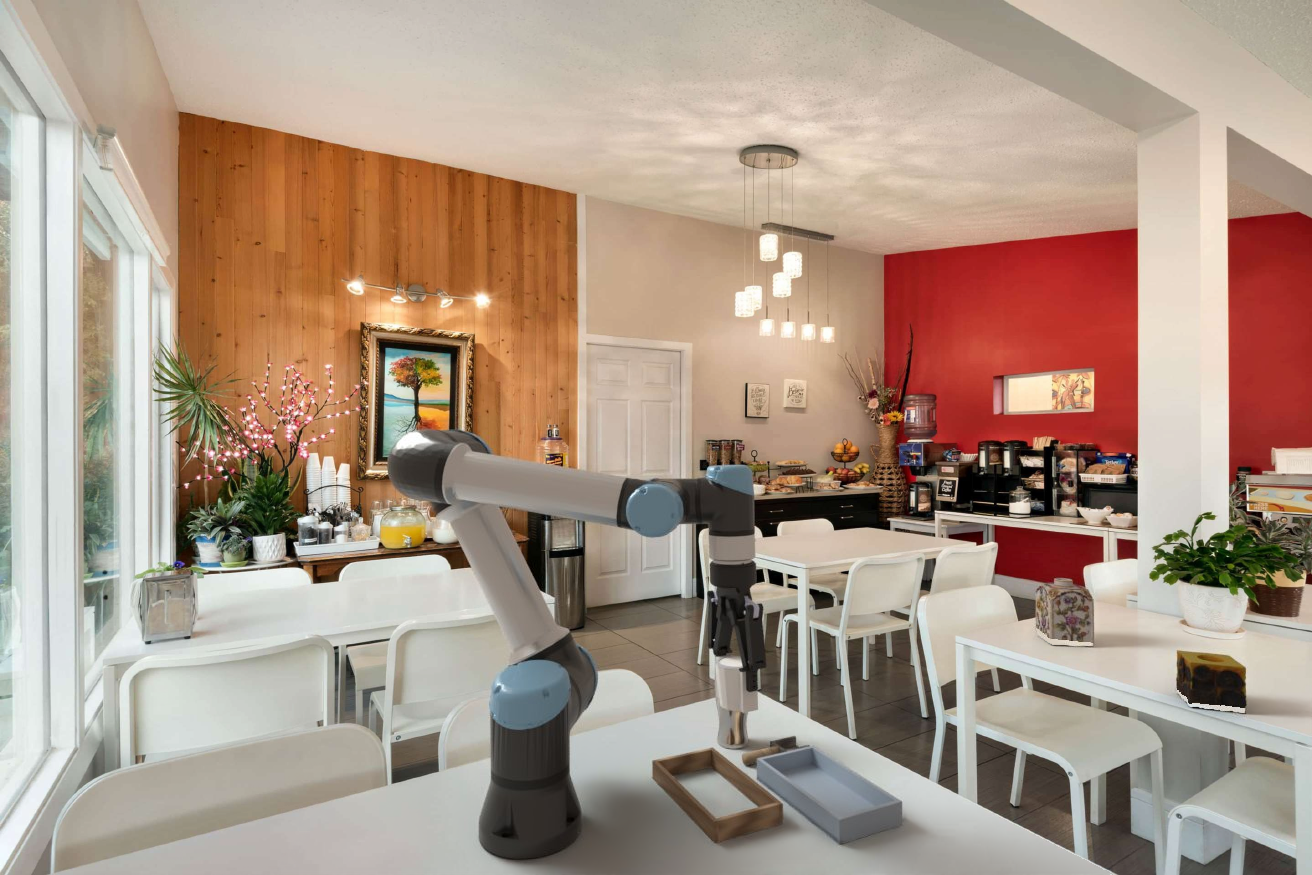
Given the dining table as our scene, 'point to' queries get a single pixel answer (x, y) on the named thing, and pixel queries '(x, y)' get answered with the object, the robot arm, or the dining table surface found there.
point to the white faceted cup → (729, 682)
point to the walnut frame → (739, 822)
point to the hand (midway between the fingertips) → (736, 702)
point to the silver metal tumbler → (731, 726)
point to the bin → (829, 794)
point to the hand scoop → (771, 749)
